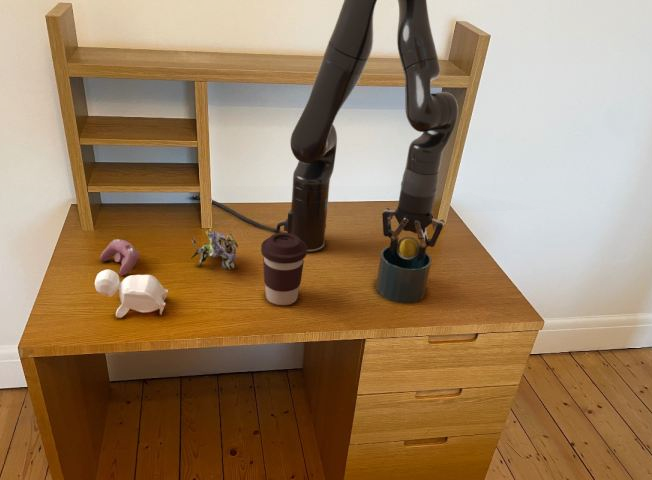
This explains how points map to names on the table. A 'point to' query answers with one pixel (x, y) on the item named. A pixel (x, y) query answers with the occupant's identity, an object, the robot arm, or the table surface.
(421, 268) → the pen pot
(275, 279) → the coffee cup
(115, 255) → the video game controller
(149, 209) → the table surface
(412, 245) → the spiral grooved cone
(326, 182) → the robot arm
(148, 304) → the white turtle figurine
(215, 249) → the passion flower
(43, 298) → the table surface
